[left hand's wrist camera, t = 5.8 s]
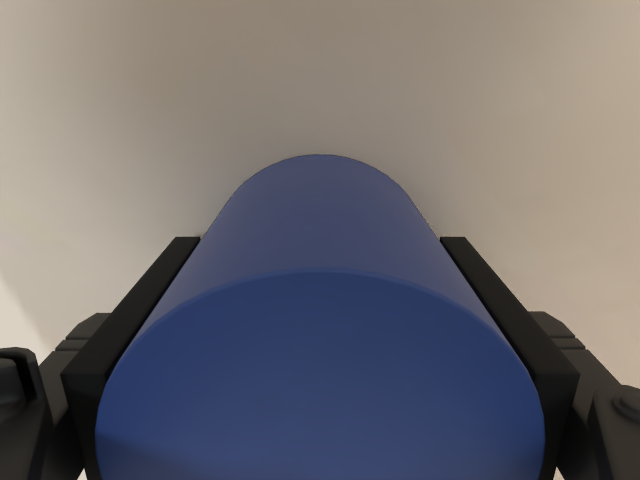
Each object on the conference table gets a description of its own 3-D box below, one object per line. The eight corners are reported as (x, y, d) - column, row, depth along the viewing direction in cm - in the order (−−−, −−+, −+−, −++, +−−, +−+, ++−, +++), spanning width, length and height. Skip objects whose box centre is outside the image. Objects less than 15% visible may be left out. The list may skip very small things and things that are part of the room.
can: (211, 345, 16) (112, 599, 9) (211, 144, 14) (67, 246, 6) (409, 359, 17) (488, 620, 9) (447, 164, 14) (610, 291, 6)
